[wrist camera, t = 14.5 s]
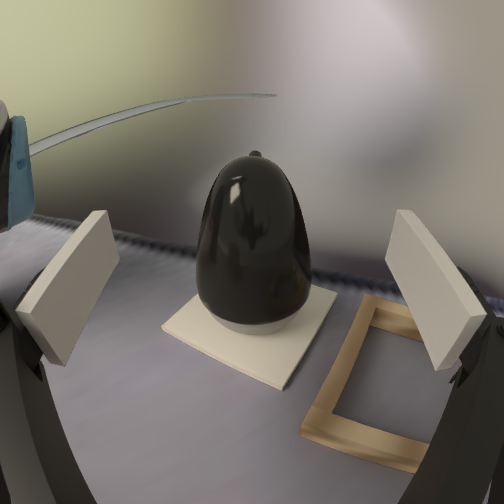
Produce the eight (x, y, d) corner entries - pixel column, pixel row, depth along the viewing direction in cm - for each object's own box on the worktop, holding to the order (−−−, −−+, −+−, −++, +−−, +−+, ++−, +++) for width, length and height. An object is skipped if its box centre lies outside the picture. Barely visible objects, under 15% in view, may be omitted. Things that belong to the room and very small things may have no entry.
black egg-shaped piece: (304, 279, 34) (313, 142, 25) (309, 354, 25) (333, 183, 17) (212, 277, 34) (198, 142, 26) (193, 349, 26) (158, 183, 17)
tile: (162, 330, 28) (161, 326, 28) (235, 263, 38) (235, 259, 37) (281, 390, 23) (282, 387, 22) (336, 296, 32) (337, 292, 31)
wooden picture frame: (298, 434, 19) (302, 421, 18) (360, 311, 30) (365, 293, 28) (468, 484, 13) (486, 474, 11) (484, 349, 23) (494, 333, 22)
